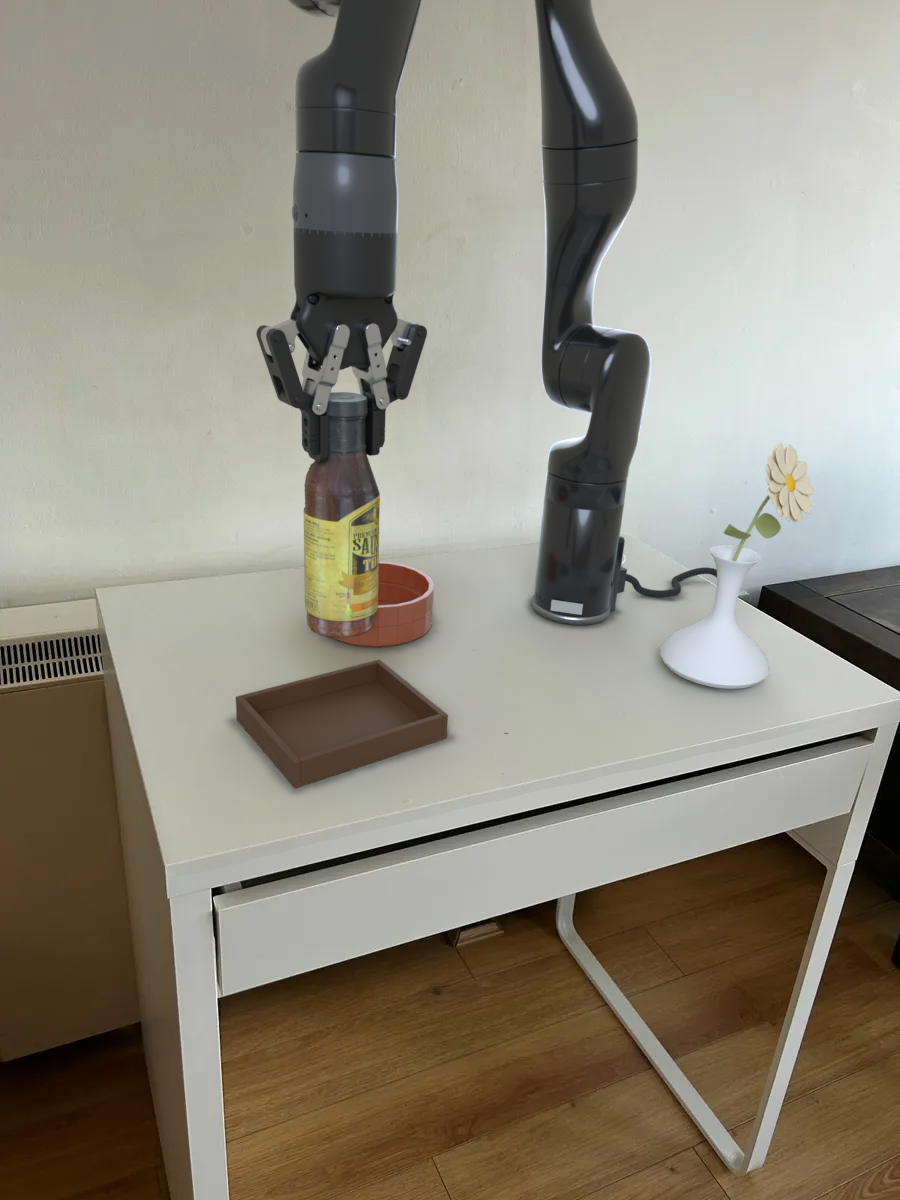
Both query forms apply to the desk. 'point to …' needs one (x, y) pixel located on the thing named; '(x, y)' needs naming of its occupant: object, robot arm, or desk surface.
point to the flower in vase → (738, 590)
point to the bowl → (399, 607)
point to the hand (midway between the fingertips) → (344, 455)
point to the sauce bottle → (342, 527)
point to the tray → (339, 721)
